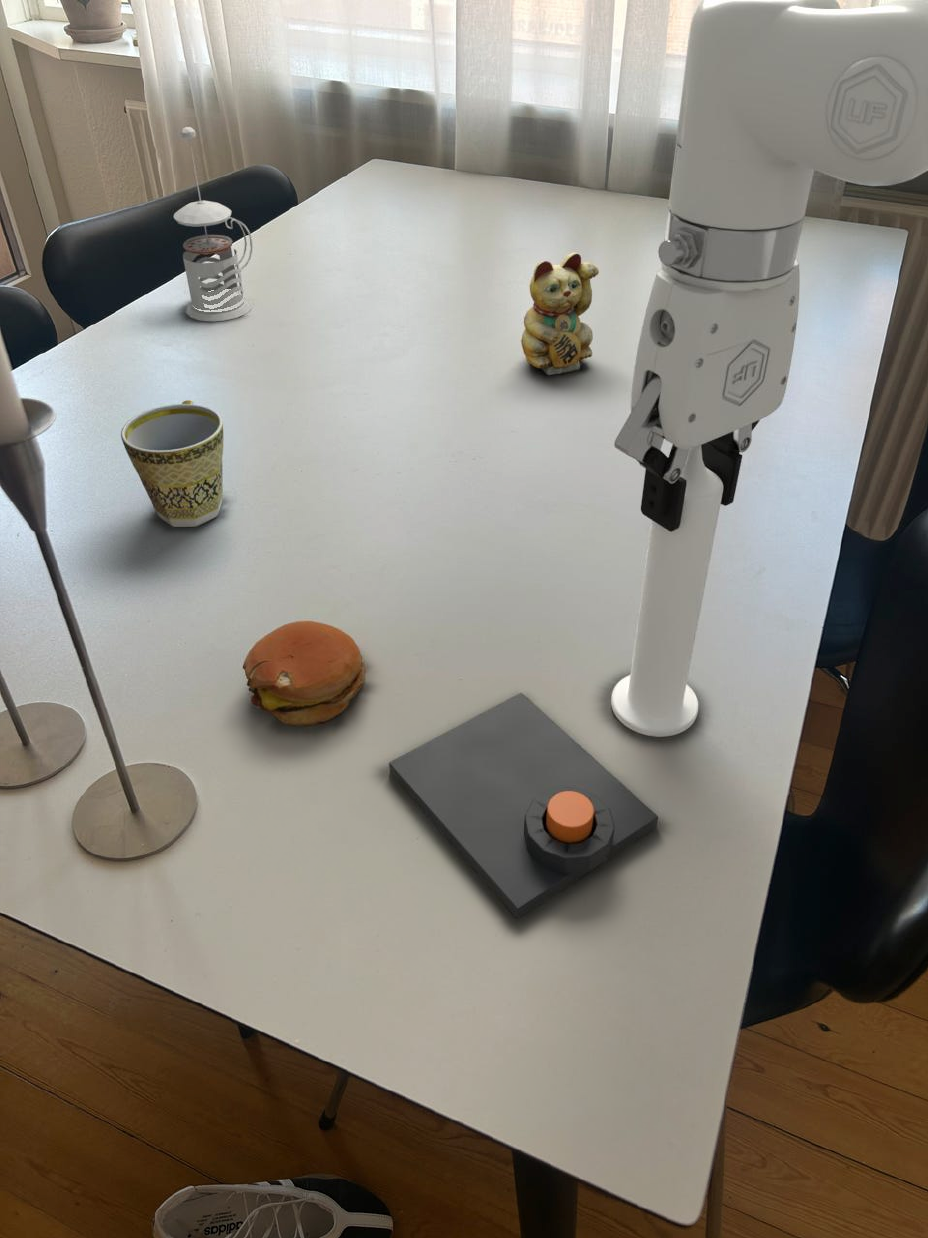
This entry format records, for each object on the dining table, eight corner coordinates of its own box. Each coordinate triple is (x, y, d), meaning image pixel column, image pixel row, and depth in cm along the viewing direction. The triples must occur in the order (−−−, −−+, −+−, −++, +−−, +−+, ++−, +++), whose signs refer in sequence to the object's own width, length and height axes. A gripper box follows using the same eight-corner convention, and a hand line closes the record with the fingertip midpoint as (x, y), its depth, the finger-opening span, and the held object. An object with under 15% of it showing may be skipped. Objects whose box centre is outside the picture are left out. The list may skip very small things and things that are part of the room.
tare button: (601, 828, 67) (603, 812, 66) (566, 851, 66) (568, 835, 65) (571, 799, 69) (573, 783, 68) (536, 820, 68) (537, 804, 67)
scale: (662, 832, 70) (667, 805, 68) (522, 925, 64) (523, 899, 62) (521, 702, 80) (522, 676, 79) (389, 772, 75) (387, 746, 73)
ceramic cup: (229, 536, 99) (212, 450, 93) (132, 537, 99) (108, 452, 93) (249, 470, 109) (234, 389, 103) (161, 471, 109) (141, 390, 103)
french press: (174, 307, 146) (136, 126, 130) (240, 287, 152) (212, 112, 136) (206, 326, 140) (171, 140, 124) (274, 305, 146) (249, 124, 130)
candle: (593, 704, 80) (621, 438, 64) (648, 665, 84) (687, 403, 68) (660, 751, 76) (708, 479, 60) (714, 708, 80) (773, 440, 64)
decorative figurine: (538, 383, 125) (543, 268, 116) (506, 359, 131) (508, 247, 121) (599, 367, 129) (609, 253, 119) (566, 344, 134) (572, 234, 125)
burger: (365, 647, 86) (361, 607, 83) (365, 723, 79) (360, 682, 76) (254, 654, 85) (245, 614, 82) (243, 731, 78) (233, 690, 75)
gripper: (672, 297, 50) (635, 579, 61) (876, 230, 57) (809, 493, 69) (576, 256, 54) (558, 525, 66) (776, 199, 62) (729, 450, 73)
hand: (686, 506), depth 67 cm, fingers closed on candle, 4 cm apart
